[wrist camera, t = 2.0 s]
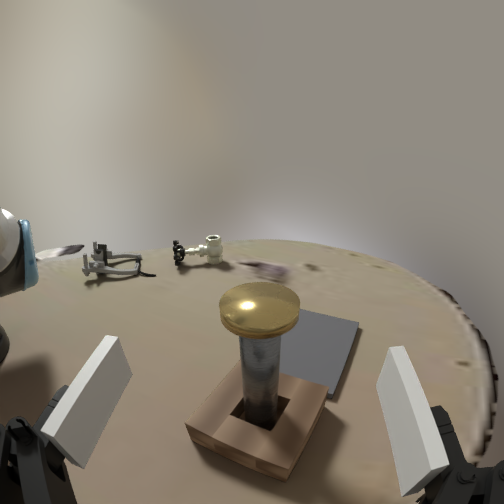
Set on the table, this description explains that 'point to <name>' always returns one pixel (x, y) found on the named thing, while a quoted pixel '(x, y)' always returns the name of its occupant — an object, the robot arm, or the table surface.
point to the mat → (317, 348)
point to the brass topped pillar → (260, 342)
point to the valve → (201, 250)
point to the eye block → (253, 437)
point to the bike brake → (102, 265)
